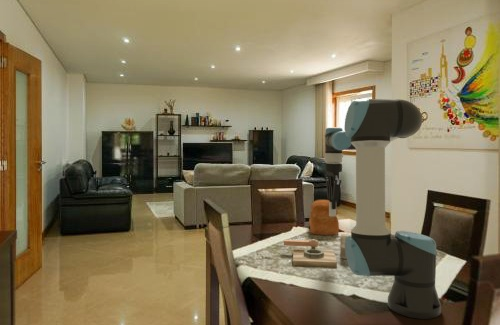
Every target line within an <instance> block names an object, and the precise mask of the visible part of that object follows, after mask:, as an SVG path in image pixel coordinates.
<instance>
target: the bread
mask: <svg viewBox="0 0 500 325" xmlns="http://www.w3.org/2000/svg"><path fill="white" fill-rule="evenodd" d="M310 209H311V212H310V214H309V220H308V224H309V229H310V232H311V234H313V235H317V236H335V235H338V234H339V232H340V231H339V230H340V229H339V228H340V227H339V226H340V225H339V220H338V217H337V215H338V207H336V216H332V217H330V216H329V199H315V200H314V201H313V202H312V203H311V206H310Z"/></svg>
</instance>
